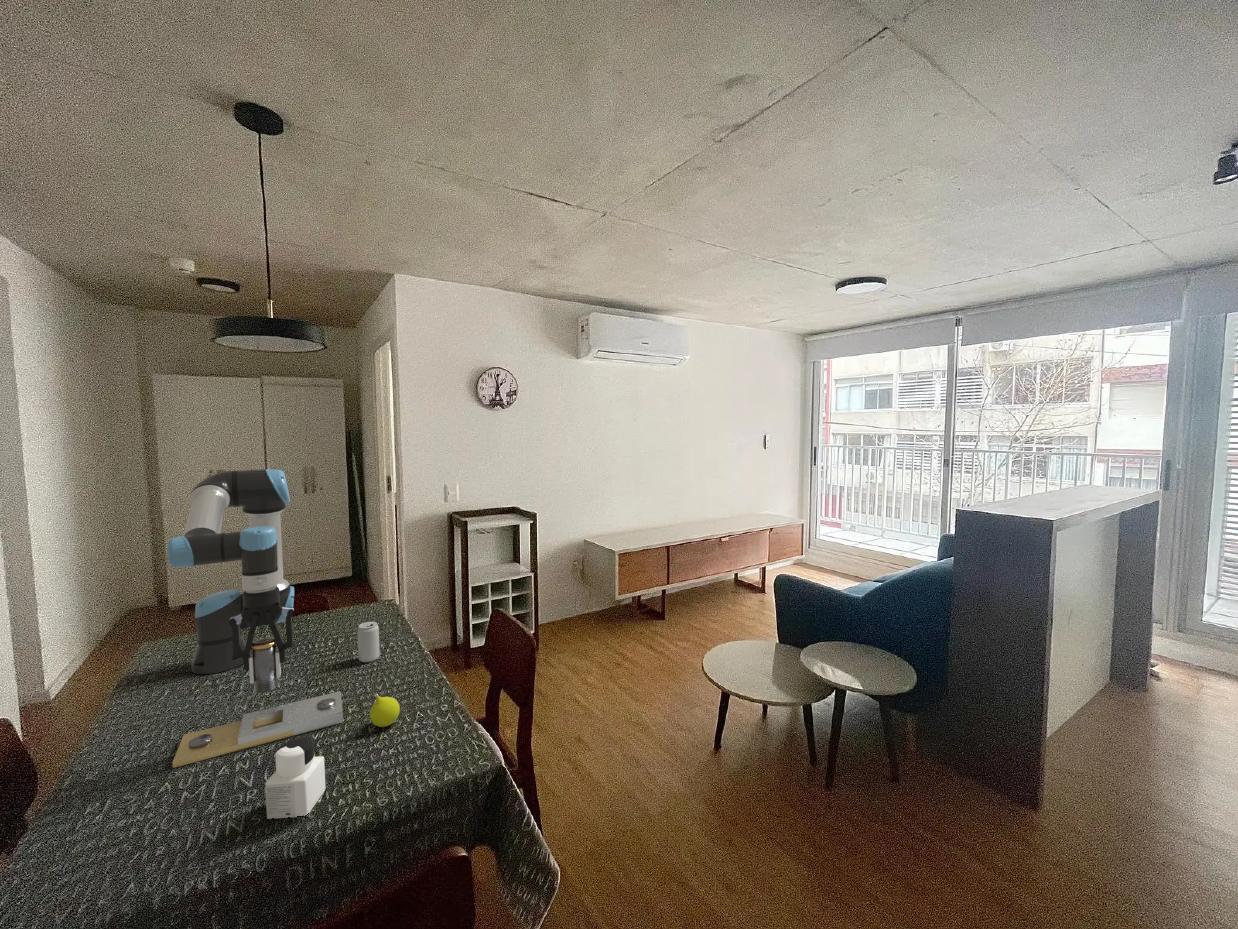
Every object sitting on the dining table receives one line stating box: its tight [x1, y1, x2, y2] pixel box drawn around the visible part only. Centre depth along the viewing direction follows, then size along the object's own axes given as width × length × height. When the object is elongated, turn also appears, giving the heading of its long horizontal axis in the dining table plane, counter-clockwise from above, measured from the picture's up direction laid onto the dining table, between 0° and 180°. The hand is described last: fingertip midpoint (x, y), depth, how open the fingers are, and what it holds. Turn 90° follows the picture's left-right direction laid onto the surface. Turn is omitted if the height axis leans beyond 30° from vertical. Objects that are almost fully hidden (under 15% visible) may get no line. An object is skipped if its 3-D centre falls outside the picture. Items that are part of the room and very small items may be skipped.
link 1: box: [172, 715, 295, 768], centre depth 125 cm, size 12×23×2 cm, turn 122°
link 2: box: [238, 690, 344, 744], centre depth 131 cm, size 12×22×4 cm, turn 122°
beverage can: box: [356, 621, 381, 663], centre depth 168 cm, size 6×6×12 cm
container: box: [265, 736, 326, 820], centre depth 103 cm, size 8×8×13 cm
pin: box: [251, 636, 279, 694], centre depth 127 cm, size 6×6×12 cm
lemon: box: [369, 693, 401, 728], centre depth 131 cm, size 7×7×10 cm
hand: (265, 678), depth 127 cm, fingers closed on pin, 5 cm apart
